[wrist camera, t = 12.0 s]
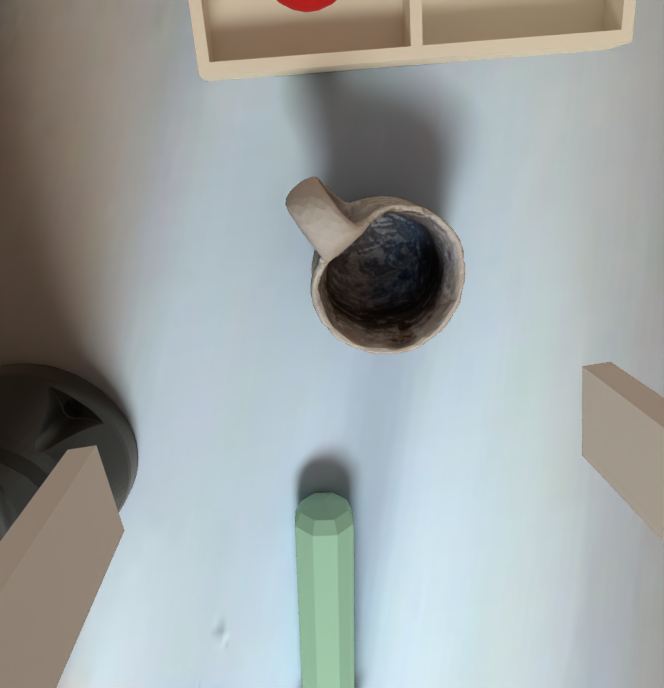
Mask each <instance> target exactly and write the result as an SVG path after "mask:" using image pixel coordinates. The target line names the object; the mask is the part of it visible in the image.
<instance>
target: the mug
mask: <svg viewBox="0 0 664 688" xmlns="http://www.w3.org/2000/svg"><path fill="white" fill-rule="evenodd" d="M286 206H287V209H288V211H289V213H290V215H291V216H292V218H293V219H294V221H295V222H296V224H297V225H298V227H299V228H300V230H301V231H302V233H303V234H304V235H305V237H306V238H307V239H308V240H309V241H310V243H311V244H312V245H313V247H314V248H315V251H314V256H313V261H312V278H311V297H312V302H313V306H314V308H315V310H316V312H317V314H318V316H319V318H320V321H321V322H322V323H323V324H324V325H325V326H326V327H327V328H328V330H329V331H330V332H331V333H332V335H333V336H335V337H336V338H337V339H338V340H340V341H342V342H344V343H346V344H348V345H350V346H353V347H355V348H358V349H361V350H364V351H366V352H369V353H379V354H391V353H402V352H407V351H410V350H413V349H416V348H419V347H420V346H422V345H423V344H424V343H425V342H426V341H428V340H430V339H431V338H433V337H434V336H435V335H437V334H438V333H439V332H441V331H442V330H443V328H444V327H445V326H446V325H447V324H448V322H449V321H450V319H451V317H452V316H453V314H454V312H455V311H456V309H457V307H458V305H459V303H460V300H461V294H462V289H463V285H464V281H465V263H464V260H463V248H462V245H461V242H460V239H459V238H458V236H457V235H456V233H455V232H454V231H453V229H452V228H451V227H450V226H449V225H448V223H446V222H445V221H444V220H443V219H442V218H440V217H439V216H438V215H436V214H435V213H433V212H432V211H430V210H428V209H426V208H424V207H421V206H418V205H417V204H415V203H413V202H411V201H408V200H405V199H402V198H399V197H393V196H374V197H369V198H364V199H360V200H357V201H354V202H350V203H348V202H344V201H343V200H341V199H340V198H339V197H338V196H337V195H335V194H334V193H333V192H332V191H331V190H330V189H329V188H328V187H326V186H325V185H324V184H323V183H322V182H321V181H320V180H319V179H318V178H317V177H310V178H308V179H306V180H303V181H302V182H300V183H299V184H298V185H297V186H295V187H294V188H293V189H292V190H291V191H290V193H289V194H288V196H287V198H286Z"/></svg>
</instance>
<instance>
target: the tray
mask: <svg viewBox="0 0 664 688" xmlns="http://www.w3.org/2000/svg"><path fill="white" fill-rule="evenodd" d="M635 4H636V0H337V1H335V2H334V3H333V4H332V5H329V6H327V7H325V8H323V9H321V10H319V11H313V12H301V11H296V10H292V9H290V8H288V7H286V6H284V5H282V4H280V3H279V2H278V1H277V0H189V6H190V13H191V20H192V27H193V35H194V42H195V49H196V56H197V63H198V70H199V76H200V77H201V78H203V79H205V80H206V81H220V80H233V79H245V78H258V77H270V76H283V75H296V74H308V73H321V72H333V71H346V70H358V69H371V68H384V67H396V66H409V65H421V64H434V63H447V62H459V61H472V60H484V59H497V58H510V57H522V56H535V55H547V54H560V53H573V52H585V51H598V50H608V49H611V48H614V47H617V46H621V45H624V44H627V43H630V42H632V37H633V26H634V15H635Z"/></svg>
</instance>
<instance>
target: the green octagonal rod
mask: <svg viewBox="0 0 664 688" xmlns="http://www.w3.org/2000/svg"><path fill="white" fill-rule="evenodd" d="M295 534H296V557H297V580H298V603H299V627H300V650H301V673H302V688H354V522H353V514H352V509H351V507H350V505H349V503H348V501H347V500H346V499H345V498H343V497H341V496H339V495H337V494H335V493H333V492H329V493H313V494H312V495H310V496H308V497H307V498H305V499H303V500H302V501H300V504H299V506H298V508H297V510H296V515H295Z"/></svg>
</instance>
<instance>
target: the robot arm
mask: <svg viewBox="0 0 664 688" xmlns="http://www.w3.org/2000/svg"><path fill="white" fill-rule="evenodd" d="M582 456H583V457H584V458H585V459H586V460H587V461H588V462H589V463H590V464H591V465H592V466H593V467H594V468H595V470H596V471H597V472H598V473H599V474H600V475H601V476H602V477H603V478H604V479H605V480H606V481H607V482H608V483H609V484H610V486H611V487H612V488H613V489H614V490H615V491H616V492H617V493H618V494H619V495H620V496H621V497H622V498H623V499H624V500H625V502H626V503H627V504H628V505H629V506H630V507H631V508H632V509H633V510H634V511H635V512H636V513H637V514H638V515H639V516H640V518H641V519H642V520H643V521H644V522H645V523H646V524H647V525H648V526H649V527H650V528H651V529H652V530H653V531H654V532H655V534H656V535H657V536H658V537H659V538H660V539H661V540H662V541H663V542H664V398H663V397H662V396H660V395H659V394H657V393H656V392H654V391H653V390H651V389H650V388H648V387H647V386H645V385H644V384H642V383H641V382H640V381H638V380H637V379H635V378H634V377H632V376H631V375H629V374H628V373H626V372H625V371H623V370H622V369H620V368H619V367H617V366H616V365H614V364H613V363H612V362H606V363H600V364H594V365H588V366H582ZM137 466H138V454H137V447H136V442H135V439H134V436H133V433H132V430H131V428H130V426H129V424H128V422H127V420H126V419H125V417H124V416H123V414H122V413H121V411H120V410H119V409H118V407H117V406H116V405H115V404H114V403H113V402H112V401H111V400H110V399H109V398H108V397H107V396H106V395H105V394H104V393H103V392H102V391H100V390H99V389H98V388H96V387H95V386H93V385H92V384H90V383H89V382H87V381H85V380H84V379H82V378H80V377H78V376H76V375H74V374H71V373H69V372H66V371H63V370H60V369H57V368H53V367H49V366H43V365H35V364H13V365H6V366H1V367H0V688H56V687H57V684H58V682H59V680H60V677H61V675H62V673H63V670H64V668H65V666H66V664H67V661H68V659H69V657H70V654H71V652H72V650H73V647H74V645H75V643H76V641H77V638H78V636H79V634H80V631H81V629H82V627H83V624H84V622H85V620H86V618H87V615H88V613H89V611H90V608H91V606H92V604H93V601H94V599H95V597H96V594H97V592H98V590H99V588H100V585H101V583H102V581H103V578H104V576H105V574H106V571H107V569H108V567H109V565H110V562H111V560H112V558H113V555H114V553H115V551H116V548H117V546H118V544H119V542H120V539H121V537H122V535H123V532H124V528H123V525H122V522H121V519H120V516H119V511H120V510H121V508H122V507H123V505H124V503H125V501H126V499H127V497H128V495H129V493H130V491H131V489H132V487H133V484H134V481H135V478H136V474H137Z"/></svg>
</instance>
